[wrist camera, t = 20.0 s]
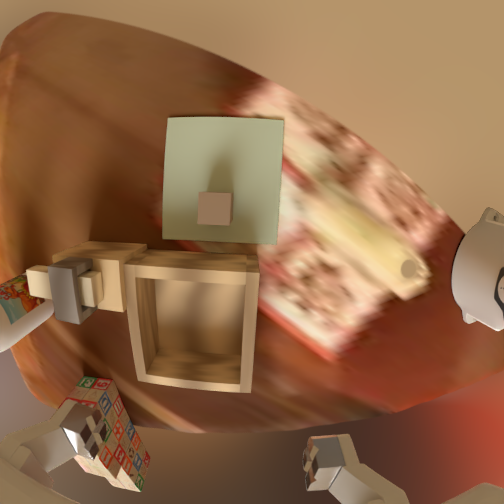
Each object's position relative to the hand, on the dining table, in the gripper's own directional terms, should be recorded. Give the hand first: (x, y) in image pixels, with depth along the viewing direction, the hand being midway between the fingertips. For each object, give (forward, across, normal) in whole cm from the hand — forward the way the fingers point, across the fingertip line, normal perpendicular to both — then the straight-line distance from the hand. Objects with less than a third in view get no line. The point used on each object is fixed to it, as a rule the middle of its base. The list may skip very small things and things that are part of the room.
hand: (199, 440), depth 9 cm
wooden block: (+16, +17, +1) cm, 23 cm away
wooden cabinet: (+24, +8, +5) cm, 26 cm away
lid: (+25, +2, -10) cm, 27 cm away
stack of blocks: (+24, +20, +31) cm, 44 cm away
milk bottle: (+24, +30, +7) cm, 39 cm away
